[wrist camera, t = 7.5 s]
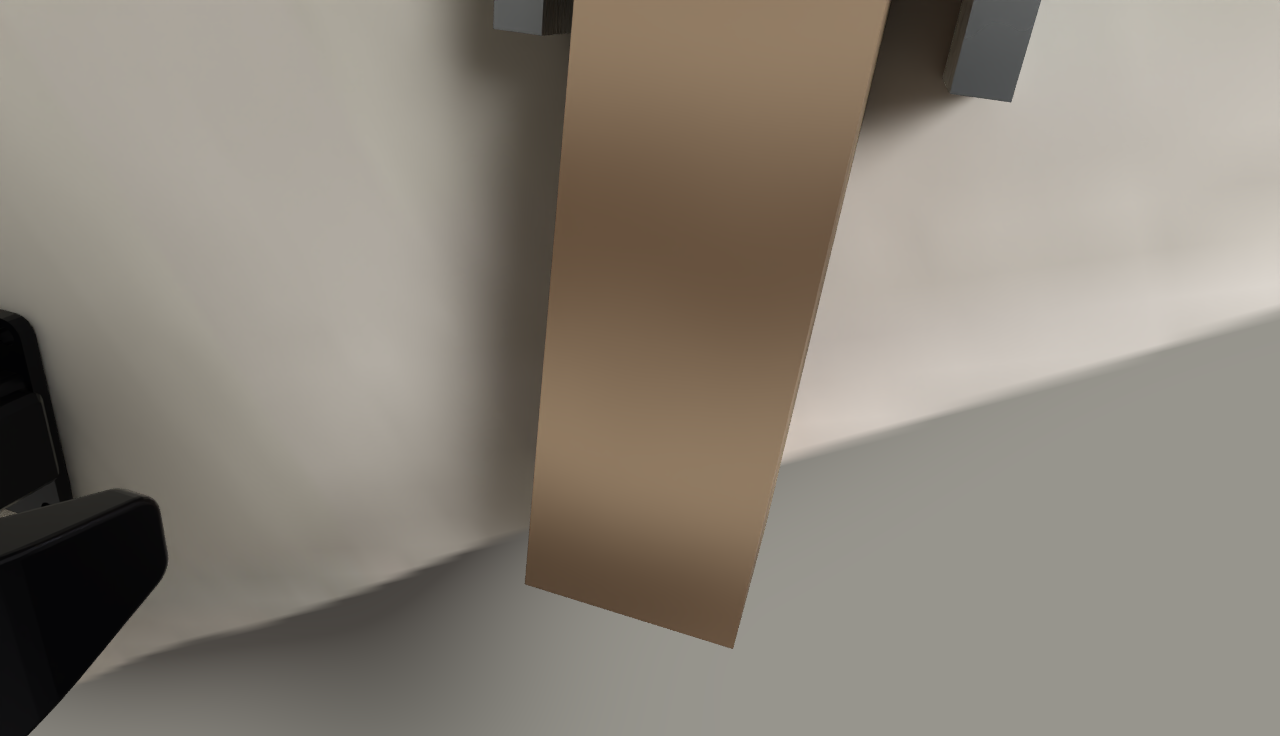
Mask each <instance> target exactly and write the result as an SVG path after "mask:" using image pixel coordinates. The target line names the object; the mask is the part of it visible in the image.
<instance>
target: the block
mask: <svg viewBox="0 0 1280 736" xmlns="http://www.w3.org/2000/svg"><path fill="white" fill-rule="evenodd" d="M890 4H891V0H574V6H573V18H572V30H571V41H570V53H569V65H568V77H567V89H566V101H565V113H564V125H563V137H562V148H561V160H560V172H559V184H558V196H557V208H556V220H555V232H554V243H553V255H552V267H551V279H550V291H549V303H548V315H547V327H546V339H545V350H544V362H543V374H542V386H541V398H540V410H539V422H538V434H537V445H536V457H535V469H534V481H533V493H532V505H531V517H530V529H529V541H528V553H527V564H526V576H525V584H526V585H529V586H532V587H536V588H539V589H542V590H545V591H549V592H552V593H555V594H558V595H562V596H564V597H568V598H571V599H574V600H577V601H581V602H584V603H587V604H590V605H593V606H597V607H600V608H603V609H607V610H609V611H613V612H616V613H619V614H622V615H625V616H629V617H632V618H635V619H638V620H641V621H645V622H648V623H651V624H654V625H657V626H661V627H664V628H667V629H670V630H673V631H677V632H680V633H683V634H686V635H690V636H693V637H696V638H699V639H702V640H706V641H709V642H712V643H715V644H719V645H722V646H725V647H728V648H731V649H733V647H734V643H735V639H736V635H737V632H738V628H739V624H740V620H741V617H742V612H743V609H744V605H745V601H746V598H747V594H748V590H749V587H750V583H751V579H752V575H753V572H754V568H755V564H756V560H757V556H758V553H759V549H760V545H761V541H762V537H763V534H764V530H765V526H766V523H767V518H768V514H769V510H770V506H771V502H772V497H773V493H774V489H775V485H776V481H777V476H778V472H779V468H780V464H781V459H782V455H783V451H784V447H785V442H786V438H787V434H788V430H789V426H790V422H791V417H792V413H793V409H794V405H795V401H796V397H797V392H798V388H799V384H800V380H801V376H802V372H803V367H804V363H805V359H806V355H807V351H808V346H809V342H810V338H811V334H812V330H813V326H814V321H815V317H816V313H817V309H818V305H819V301H820V296H821V292H822V288H823V284H824V280H825V276H826V271H827V267H828V263H829V259H830V255H831V250H832V246H833V242H834V238H835V234H836V230H837V225H838V221H839V217H840V213H841V209H842V205H843V200H844V196H845V192H846V188H847V184H848V180H849V175H850V171H851V167H852V163H853V159H854V155H855V150H856V146H857V142H858V138H859V134H860V129H861V125H862V121H863V117H864V113H865V109H866V104H867V100H868V96H869V92H870V88H871V84H872V79H873V75H874V71H875V67H876V63H877V59H878V54H879V50H880V46H881V42H882V38H883V33H884V29H885V25H886V21H887V17H888V13H889V8H890Z"/></svg>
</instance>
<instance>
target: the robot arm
mask: <svg viewBox="0 0 1280 736" xmlns="http://www.w3.org/2000/svg"><path fill="white" fill-rule="evenodd" d="M4 509H7V510H10V511H13V512H16V513H17V514H13V515H10V516H6V517H2V518H0V736H28V735H29V734H30V733H31V732H32V731H33V730H34V729H35V728H36V727H37V725H38V724H39V723H40V722H41V721H42V720H43V719H44V718H45V717H46V716H47V715H48V714H49V713H50V712H51V711H52V710H53V709H54V708H55V706H56V705H57V704H58V703H59V702H60V701H61V700H62V699H63V697H64V696H65V695H66V694H67V693H68V691H70V689H71V688H72V687H73V686H74V685H75V684H76V683H77V681H78V680H79V679H80V678H81V677H82V675H83V674H84V673H85V672H86V671H87V669H88V668H89V667H90V666H91V664H92V663H93V662H94V661H95V660H96V658H97V657H98V656H99V655H100V654H101V652H102V651H103V650H104V649H105V648H106V646H107V645H108V644H109V643H110V642H111V640H112V639H113V638H114V637H115V635H116V634H117V633H118V632H119V631H120V629H121V628H122V627H123V626H124V625H125V623H126V622H127V621H128V620H129V619H130V617H131V616H132V615H133V614H134V613H135V611H136V610H137V609H138V608H139V606H140V605H141V604H142V603H143V602H144V600H145V599H146V598H147V597H148V596H149V594H150V593H151V592H152V591H153V590H154V588H155V587H156V586H157V585H158V583H159V582H160V581H161V579H162V578H163V576H164V574H165V572H166V569H167V566H168V551H167V546H166V540H165V535H164V529H163V523H162V518H161V512H160V508H159V505H158V504H157V502H156V501H155V500H154V499H153V498H151V497H149V496H146V495H143V494H140V493H136V492H133V491H130V490H126V489H110V490H106V491H102V492H98V493H95V494H91V495H87V496H83V497H79V498H75V499H73V496H72V492H71V488H70V483H69V479H68V475H67V470H66V466H65V462H64V457H63V453H62V449H61V444H60V440H59V436H58V431H57V427H56V422H55V418H54V414H53V409H52V405H51V401H50V396H49V392H48V388H47V383H46V379H45V375H44V370H43V366H42V362H41V357H40V353H39V349H38V344H37V340H36V336H35V333H34V330H33V328H32V326H31V325H30V324H29V322H28V321H27V320H26V319H25V318H24V317H22V316H20V315H18V314H16V313H12V312H8V311H4V310H0V511H2V510H4Z"/></svg>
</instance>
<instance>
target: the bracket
mask: <svg viewBox="0 0 1280 736" xmlns="http://www.w3.org/2000/svg"><path fill="white" fill-rule="evenodd" d="M1040 2H1041V0H962V4H961V8H960V12H959V16H958V20H957V24H956V28H955V31H954V35H953V39H952V43H951V47H950V51H949V55H948V59H947V63H946V67H945V71H944V75H943V78H942V79H943V81H944V83H945V85H946V87H947V89H948V91H949V93H950V94H956V95H963V96H970V97H977V98H984V99H991V100H998V101H1005V102H1011V101H1012V97H1013V94H1014V91H1015V87H1016V84H1017V80H1018V77H1019V74H1020V70H1021V67H1022V63H1023V60H1024V57H1025V53H1026V50H1027V46H1028V43H1029V40H1030V36H1031V33H1032V29H1033V26H1034V22H1035V19H1036V16H1037V12H1038V9H1039V5H1040ZM573 6H574V0H494V23H493V29H499V30H506V31H513V32H520V33H527V34H534V35H541V36H543V35H554V34H565V33H571V30H572V18H573Z"/></svg>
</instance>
